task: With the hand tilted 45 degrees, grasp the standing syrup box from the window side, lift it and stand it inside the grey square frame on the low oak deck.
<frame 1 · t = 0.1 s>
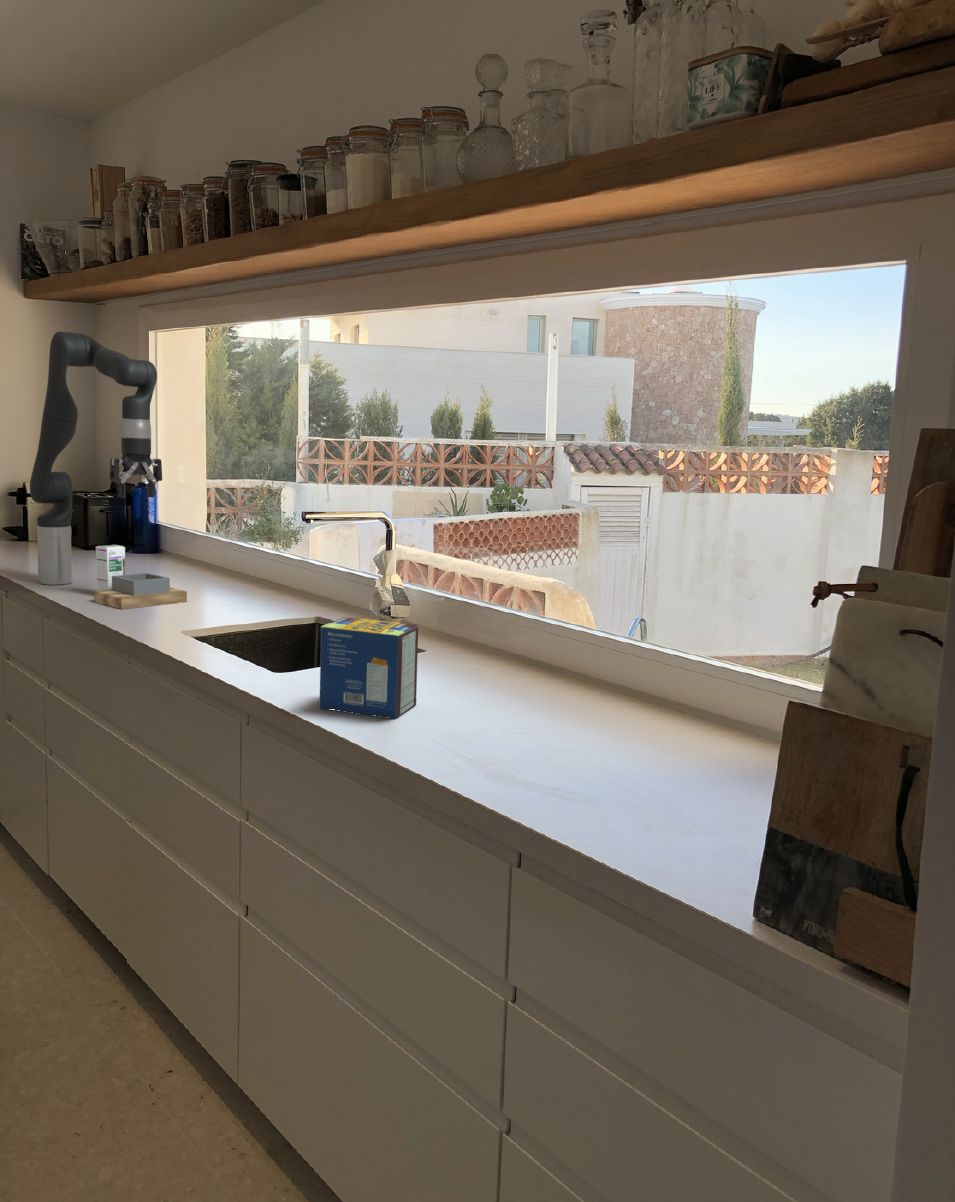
hand: (136, 497, 269), 29 cm above the counter, tool pointing down, fingers open, 8 cm apart
grey square frame: (141, 591, 277), resting on deck
syrup box: (111, 597, 284), on the counter
deck: (141, 601, 278), on the counter
protein box: (368, 708, 185), on the counter
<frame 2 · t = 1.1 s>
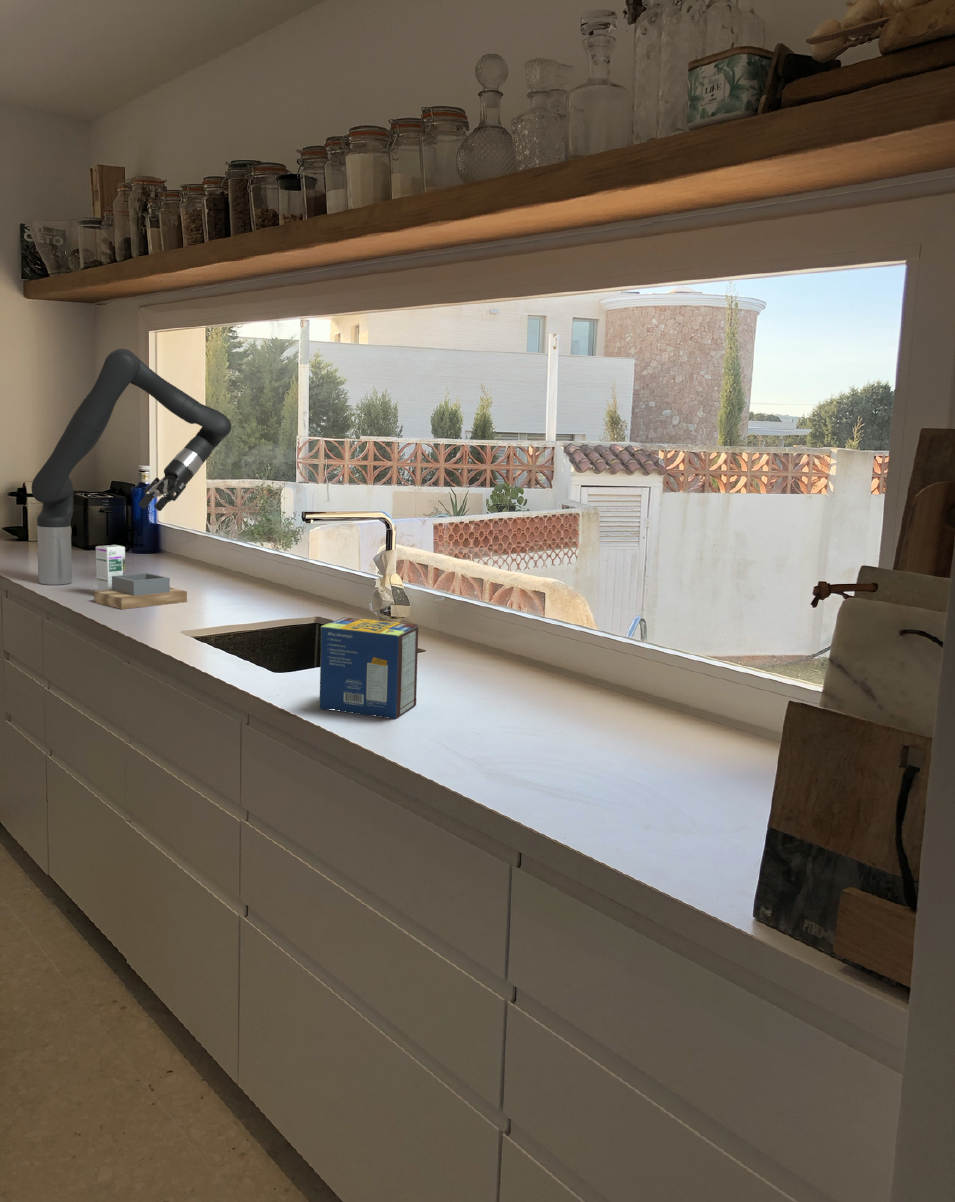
hand: (149, 507, 289), 25 cm above the counter, tool tilted 45°, fingers open, 8 cm apart
nothing on the counter moved.
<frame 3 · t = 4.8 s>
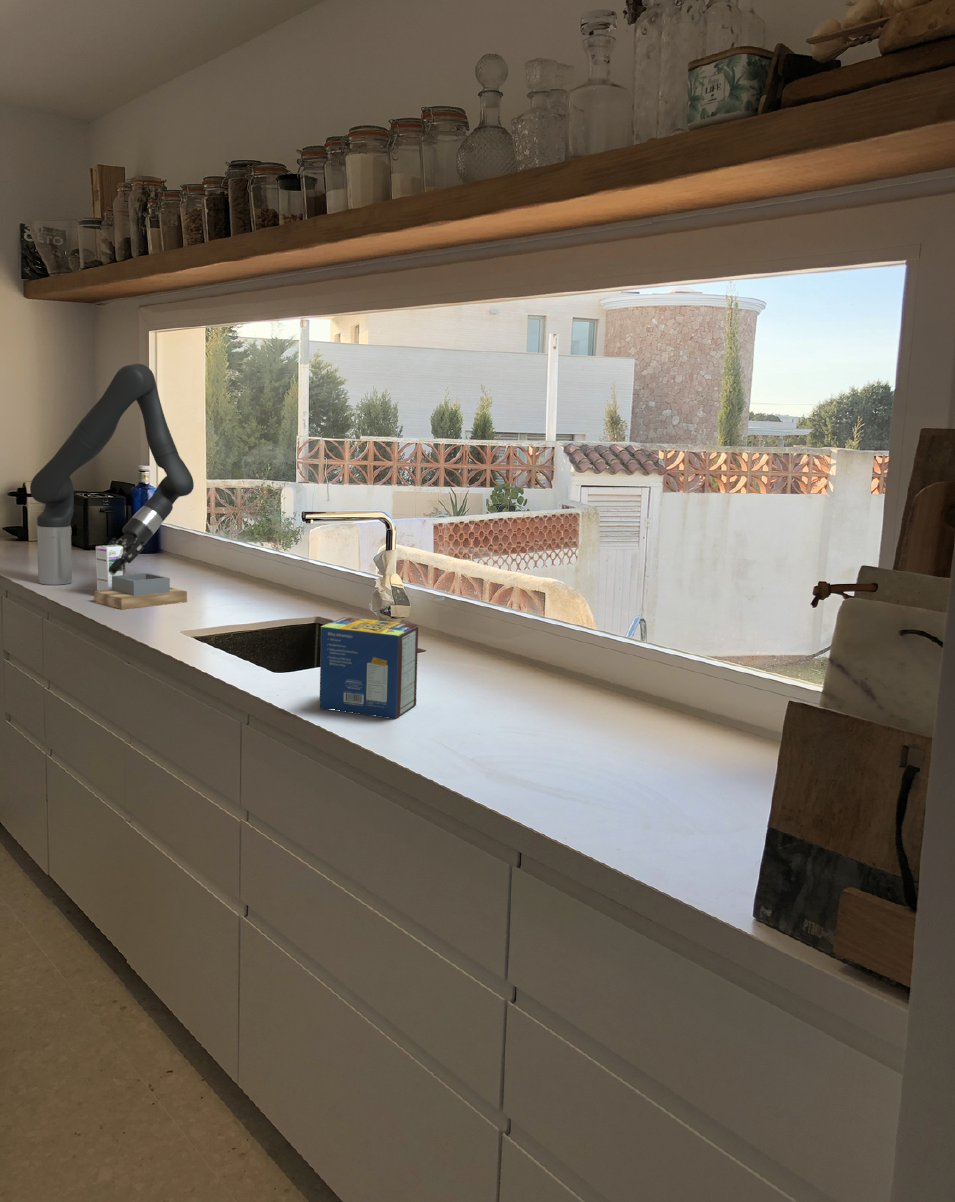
hand: (105, 569, 281), 8 cm above the counter, tool tilted 45°, fingers closed on syrup box, 6 cm apart
syrup box: (111, 597, 284), on the counter, touching gripper
everything else where it was.
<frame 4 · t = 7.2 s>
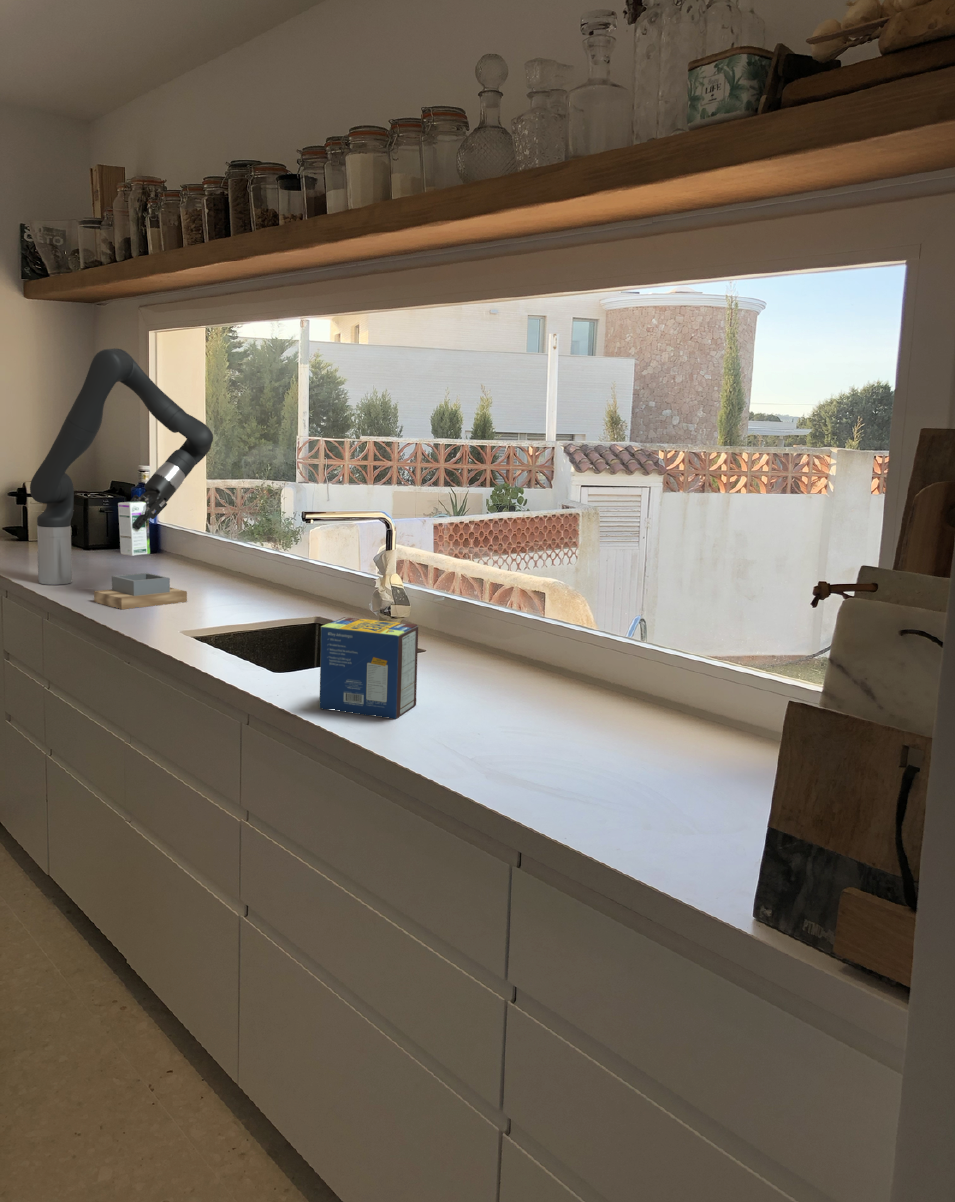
hand: (128, 526, 275), 21 cm above the counter, tool tilted 45°, fingers closed on syrup box, 6 cm apart
syrup box: (135, 555, 278), point 13 cm above the counter, touching gripper
everything else where it was.
when the fingers open (12 cm above the counter, at t = 9.5 s): syrup box drops 1 cm, resting on deck.
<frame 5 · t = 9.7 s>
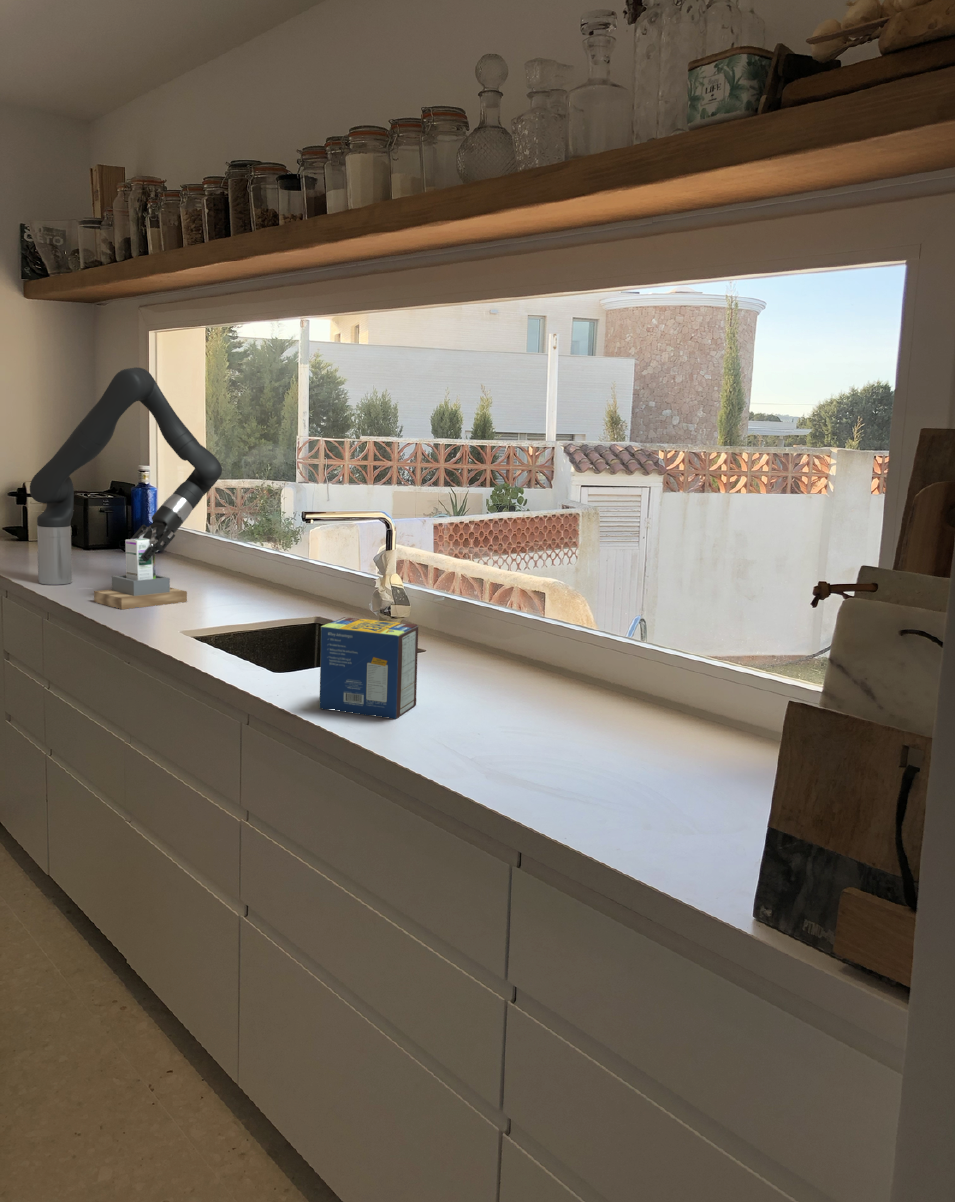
hand: (135, 557, 275), 12 cm above the counter, tool tilted 45°, fingers open, 7 cm apart
syrup box: (141, 591, 278), point 3 cm above the counter, touching deck
everything else where it was.
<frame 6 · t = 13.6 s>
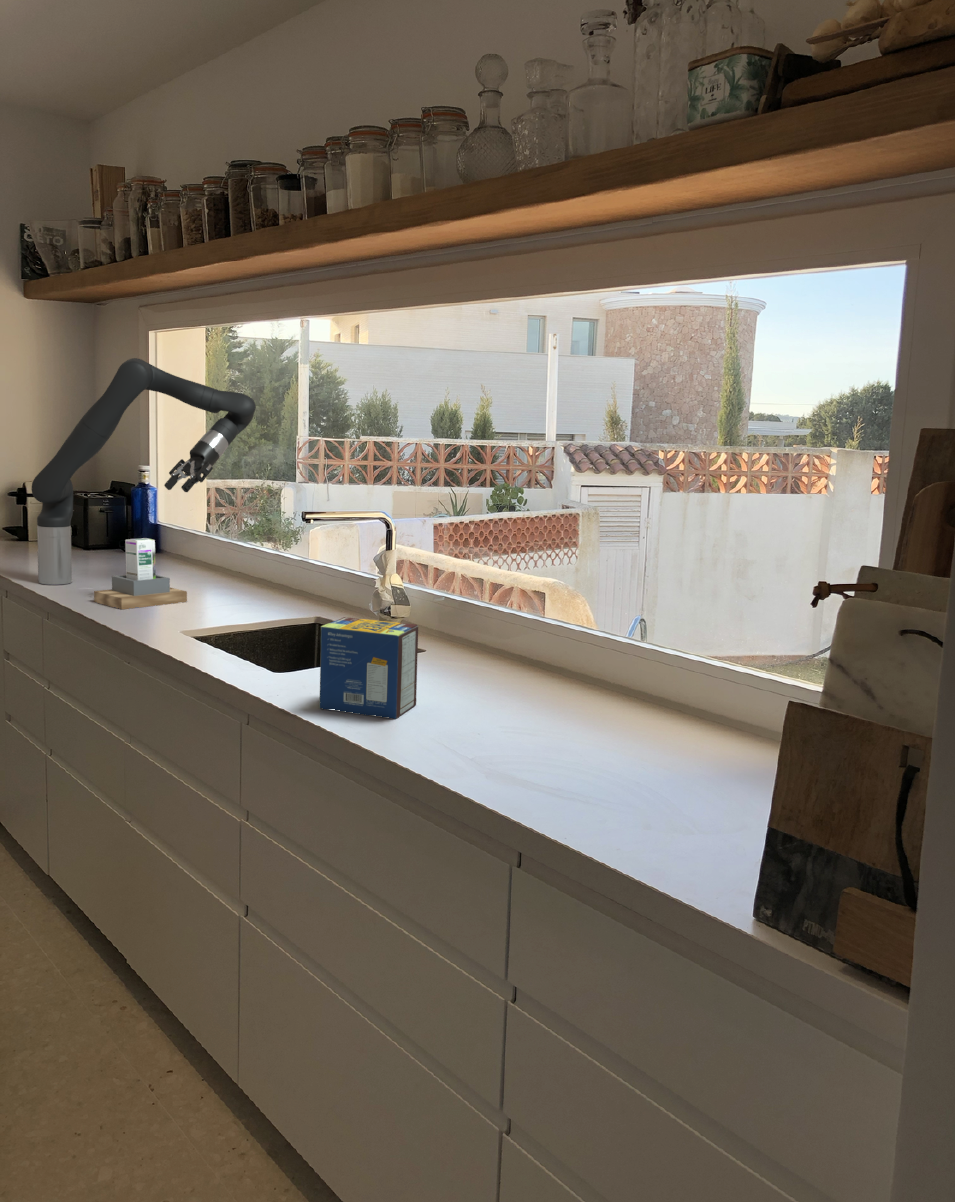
hand: (175, 489, 286), 31 cm above the counter, tool tilted 45°, fingers open, 8 cm apart
nothing on the counter moved.
at the end: syrup box inside the target area on the deck (0.5 cm from its centre), point 2.8 cm above the deck's base; syrup box tilted 0°; the gripper is holding nothing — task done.
